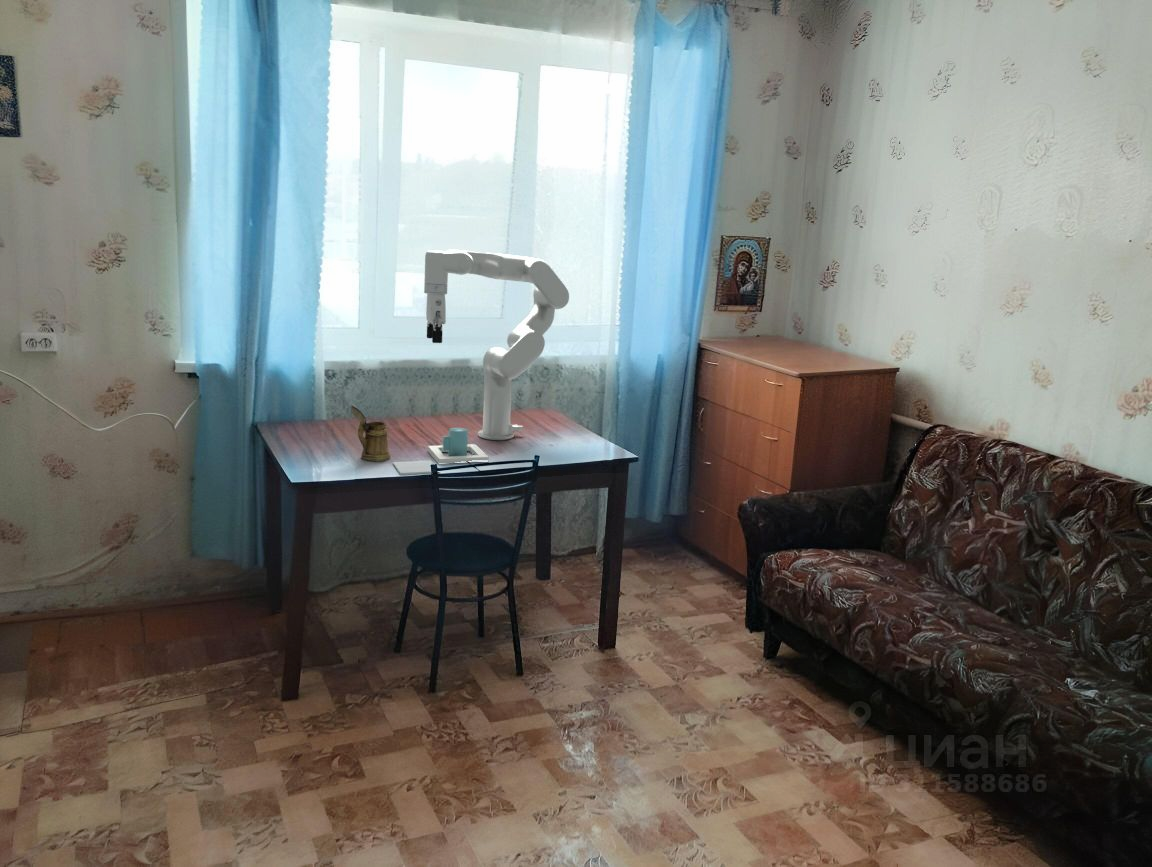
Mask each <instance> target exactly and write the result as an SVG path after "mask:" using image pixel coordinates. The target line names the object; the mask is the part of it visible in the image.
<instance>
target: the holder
mask: <svg viewBox="0 0 1152 867" xmlns="http://www.w3.org/2000/svg"><path fill="white" fill-rule="evenodd" d="M442 445H443V444H441V445H428V446H427V452H428V453H429V455H431V457H432V458H433V459H434V460H435V461H436V462H438V463H455V462H461V461H472V460H489V456H488V455H487V454H486V453H485V452H484V451H483V450H482V449H481V448H480V447H479V446H478V445H477V444H476V443H470V444H469V443H468V444H467V451H471V452H472V453H473V454H474V455H473V454H472V453H471V452H470V453H471V454H472V455H467V456H445V454H444V453H442V452H448V453H449V450H443V449H442ZM438 463H437V464H438Z"/></svg>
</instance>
